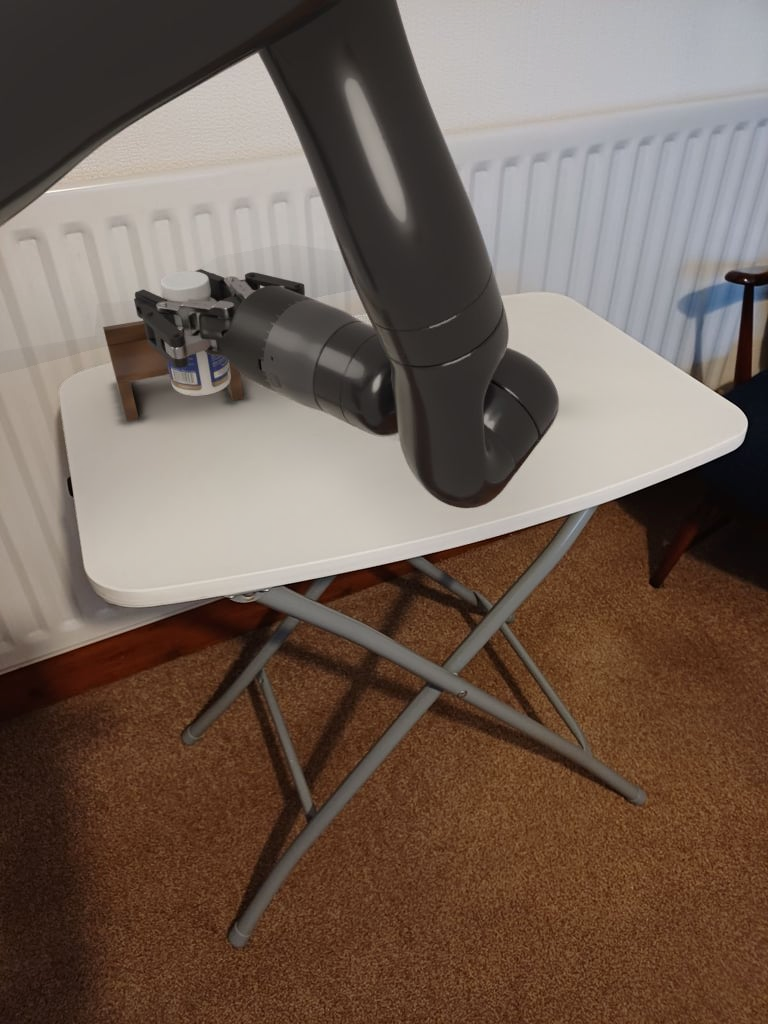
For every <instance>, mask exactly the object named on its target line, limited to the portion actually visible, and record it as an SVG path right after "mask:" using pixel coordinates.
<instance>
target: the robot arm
mask: <svg viewBox="0 0 768 1024" xmlns="http://www.w3.org/2000/svg"><path fill="white" fill-rule="evenodd" d="M257 54H258V56H259V58H260V60H261V62H262V63H263V65H264V67H265V69H266V71H267V73H268V75H269V77H270V80H271V81H272V83H273V85H274V88H275V90H276V91H277V94H278V96H279V97H280V100H281V102H282V104H283V107H284V108H285V110H286V113H287V115H288V118H289V120H290V122H291V125H292V126H293V129H294V131H295V133H296V136H297V138H298V141H299V143H300V146H301V148H302V151H303V154H304V156H305V158H306V161H307V163H308V165H309V166H308V167H309V169H310V171H311V174H312V177H313V179H314V182H315V185H316V188H317V190H318V193H319V196H320V199H321V202H322V204H323V205H322V206H323V207H324V210H325V213H326V216H327V218H328V221H329V224H330V227H331V231H332V232H333V235H334V239H335V241H336V243H337V246H338V249H339V252H340V254H341V257H342V259H343V261H344V265H345V267H346V271H347V272H348V274H349V275H348V276H349V277H350V280H351V282H352V284H353V286H354V289H355V291H356V293H357V296H358V298H359V300H360V302H361V305H362V307H363V309H364V311H365V313H366V315H367V318H368V319H369V321H370V322H369V323H370V324H369V323H366V322H364V321H362V320H360V319H359V318H356V317H355V316H354V315H352V314H350V313H348V312H347V311H345V310H343V309H340V308H339V307H335V306H333V305H330V304H327V303H324V302H322V301H319V300H317V299H314V298H312V297H310V296H306V290H305V284H304V283H302V282H298V281H294V280H290V279H285V278H280V277H276V276H272V275H267V274H264V273H259V272H254V271H250V272H247V273H245V274H244V279H239V278H238V277H237V276H233V275H231V276H226V277H223V276H220V275H219V274H217V273H214V272H210V271H206V270H204V269H202V268H200V269H196V270H194V271H195V272H200V273H204V274H205V275H207V276H208V278H209V283H210V288H211V295H210V296H209V297H211V298H213V299H215V300H216V301H217V303H214V302H207V301H200V300H193V299H189V300H187V301H186V302H185V303H183V304H181V303H175V302H168V301H167V300H166V299H164V298H163V296H159V295H157V294H155V293H153V292H151V291H149V290H147V289H140V290H138V291H135V292H134V298H133V300H134V306H135V311H136V315H137V317H138V318H139V319H141V320H142V321H144V324H145V329H146V334H147V341H148V344H149V345H150V346H151V347H153V348H154V349H155V350H156V351H157V352H158V353H159V354H161V355H162V356H163V357H164V358H165V359H166V360H167V361H169V362H170V363H171V364H172V365H173V366H174V367H177V368H183V367H186V366H188V365H189V359H188V356H189V355H192V354H195V353H199V352H202V351H205V352H206V353H208V354H210V355H216V356H223V357H226V358H227V359H228V360H229V361H230V362H231V363H232V365H233V366H234V367H235V368H236V369H237V370H238V371H239V372H240V373H241V376H243V377H244V378H246V379H248V380H250V381H252V382H254V383H256V384H258V385H261V386H263V387H264V388H267V389H268V390H271V391H273V392H274V393H277V394H279V395H281V396H283V397H285V398H287V399H288V400H289V399H290V400H291V401H293V402H296V403H297V404H299V405H302V406H304V407H306V408H309V409H312V410H316V411H319V412H323V413H324V414H328V415H330V416H332V417H333V418H336V419H338V420H340V421H342V422H344V423H346V424H348V425H349V426H352V427H354V428H357V429H358V430H360V431H362V432H365V433H368V434H370V435H372V436H376V437H380V438H385V437H386V438H387V437H393V436H396V435H398V439H399V442H400V449H401V451H402V454H403V457H404V460H405V462H406V464H407V466H408V469H409V470H410V472H411V474H412V475H413V477H414V478H415V480H416V481H417V482H418V484H419V485H420V486H421V487H422V488H423V490H425V492H427V493H428V494H429V495H431V496H432V498H434V499H436V500H437V501H439V502H440V503H443V504H444V505H447V506H450V507H454V508H457V509H475V508H479V507H482V506H485V505H487V504H489V503H490V502H492V501H494V500H495V499H496V498H497V497H498V496H499V495H500V494H501V493H502V492H503V491H504V489H505V488H506V487H507V486H508V484H509V483H510V482H511V481H512V479H513V478H514V476H515V475H516V474H517V473H518V472H519V470H520V469H521V467H522V466H523V465H524V463H525V462H526V461H527V459H528V458H529V457H530V456H531V454H532V453H533V451H535V449H536V448H537V446H538V445H539V444H540V443H541V441H542V440H543V439H544V438H545V436H547V434H548V432H549V431H550V429H551V428H552V427H553V425H554V423H555V421H556V419H557V416H558V414H559V411H560V410H559V409H560V398H559V393H558V390H557V387H556V384H555V383H554V381H553V379H552V378H551V377H550V375H549V374H548V373H547V371H546V370H545V369H544V368H543V367H542V366H541V365H540V364H539V363H537V362H536V361H534V359H532V358H531V357H529V356H527V355H526V354H524V353H522V352H520V351H518V350H515V349H514V348H513V349H512V348H510V347H508V344H509V339H510V338H509V337H510V333H509V332H510V330H509V321H508V317H507V313H506V308H505V305H504V301H503V298H502V295H501V292H500V287H499V285H498V282H497V277H496V274H495V272H494V268H493V265H492V261H491V258H490V255H489V251H488V249H487V245H486V243H485V239H484V237H483V236H484V235H483V233H482V229H481V228H480V227H481V226H480V224H479V221H478V218H477V217H476V213H475V211H474V208H473V205H472V203H471V200H470V197H469V195H468V192H467V190H466V187H465V185H464V182H463V180H462V178H461V175H460V173H459V169H458V168H457V165H456V163H455V160H454V158H453V156H452V153H451V151H450V148H449V146H448V144H447V142H446V140H445V137H444V134H443V132H442V129H441V127H440V124H439V122H438V120H437V117H436V115H435V113H434V110H433V107H432V104H431V102H430V99H429V96H428V94H427V92H426V89H425V86H424V84H423V81H422V78H421V76H420V73H419V70H418V66H417V64H416V61H415V57H414V55H413V51H412V48H411V46H410V43H409V40H408V35H407V32H406V29H405V27H404V23H403V20H402V15H401V12H400V9H399V4H398V1H397V0H0V228H2V227H4V226H5V225H6V224H7V223H8V222H10V221H11V220H12V219H14V218H16V216H18V215H19V214H20V213H22V212H23V211H24V210H25V209H27V208H28V207H30V206H31V205H33V203H35V202H37V200H39V199H40V198H41V197H42V196H43V195H45V194H46V193H47V192H49V191H50V189H52V188H53V187H54V186H55V185H57V184H58V183H59V182H60V181H61V180H62V179H64V178H65V177H66V176H67V175H68V174H69V173H71V172H72V171H73V170H74V169H75V168H76V167H77V166H78V165H80V164H81V163H82V162H83V161H84V160H86V159H87V158H88V157H89V156H90V155H92V154H93V153H95V152H96V151H97V150H98V149H99V148H101V147H102V146H103V145H104V144H106V143H108V141H110V140H112V139H113V138H114V137H116V136H117V135H119V134H120V133H122V132H123V131H125V130H126V129H127V128H129V127H131V126H132V125H133V124H136V123H137V122H139V121H140V120H142V119H143V118H146V116H149V115H150V114H151V113H153V112H155V111H156V110H158V109H160V108H162V107H163V106H165V105H167V104H169V103H171V102H172V101H174V100H176V99H177V98H179V97H181V96H184V94H187V93H188V92H190V91H192V90H194V89H196V88H197V87H199V86H200V85H203V84H204V83H206V82H208V81H209V80H211V79H213V78H216V77H217V76H218V75H220V74H222V73H223V72H226V71H228V70H229V69H231V68H233V67H235V66H237V65H238V64H240V63H242V62H244V61H245V60H247V59H249V58H252V57H253V56H255V55H257ZM197 313H200V315H199V325H198V319H197ZM174 315H178V316H179V317H180V318H181V321H182V326H181V325H176V323H175V317H174ZM199 328H200V330H199Z"/></svg>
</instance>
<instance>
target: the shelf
mask: <svg viewBox="0 0 768 1024" xmlns="http://www.w3.org/2000/svg"><path fill="white" fill-rule="evenodd" d="M102 329H103V333H104V336H105V341H106V346H107V349H108V353H109V354H108V355H109V357H110V362H111V365H112V370H113V373H114V378H115V382H116V385H117V389H118V393H119V397H120V402H121V405H122V409H123V413H124V416H125V421H126V422H131V421H137V420H139V419H140V418H139V414H138V410H137V406H136V400H135V396H134V392H133V388H132V384H131V382H134V381H135V382H136V381H140V380H147V379H151V378H152V379H153V378H157V377H162V376H168V375H169V376H170V374H169V369H168V364H167V360H166V359H165V358H164V357H163V356H162V355H161V354H159V353H158V352H157V351H156V350H155V349H154V348H153V347H151V346H150V345H149V344H148V341H147V334H146V329H145V324H144V321H143V320H138V321H133V322H132V321H131V322H125V323H120V324H113V325H107V326H103V327H102ZM229 366H230V373H231V379H230V382H229V384H228V385H227V386H226V387H225V388H226V390H227V392H228V394H229V396H230V398H231V400H232V401H239V400H244V399H245V397H244V389H243V382H242V381H243V380H242V374H241V373H240V372H239V371H238V370H237V369H236V368H235V367H234V366H233V365H232V363H231V362H230V361H229Z"/></svg>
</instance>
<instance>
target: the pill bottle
mask: <svg viewBox="0 0 768 1024" xmlns="http://www.w3.org/2000/svg"><path fill="white" fill-rule="evenodd" d="M195 271H196V270H194V271H193V270H186V271H177V272H173V273H170V274H168V275H165V276H164V277H163V278H162V279H161V280H160V289H161V297H162V298H164V299H166V300H167V301H168V302H175V303H181V304H183V303H185V302H186V301H187V300H189V299H193V300H200V301H207V302H214V303H217V301H216V300H215V299H213V298H211V297H209V296H210V295H211V288H210V283H209V278H208V276H207V275H205V274H204V273H200V272H195ZM199 315H200V313H197V319H198V325H199ZM174 317H175V323H176V325H181V326H182V321H181V318H180V317H179V316H178V315H174ZM199 330H200V328H199ZM188 359H189V365H188V366H186V367H183V368H177V367H174V366H173V365H172V364H171V363H170V362H169V361H167V364H168V369H169V378H170V383H171V386H172V388H173V389H174V390H175V391H176V392H178V393H180V394H182V395H184V396H185V395H186V396H192V397H198V396H199V397H201V396H208V395H212V394H215V393H218V392H221V391H222V390H224V389H225V388H226V386H227V385H228V384H229V382H230V379H231V373H230V366H229V360H228V359H227V358H226V357H223V356H216V355H210V354H208V353H206V352H205V351H202V352H199V353H195V354H192V355H189V356H188Z"/></svg>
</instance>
